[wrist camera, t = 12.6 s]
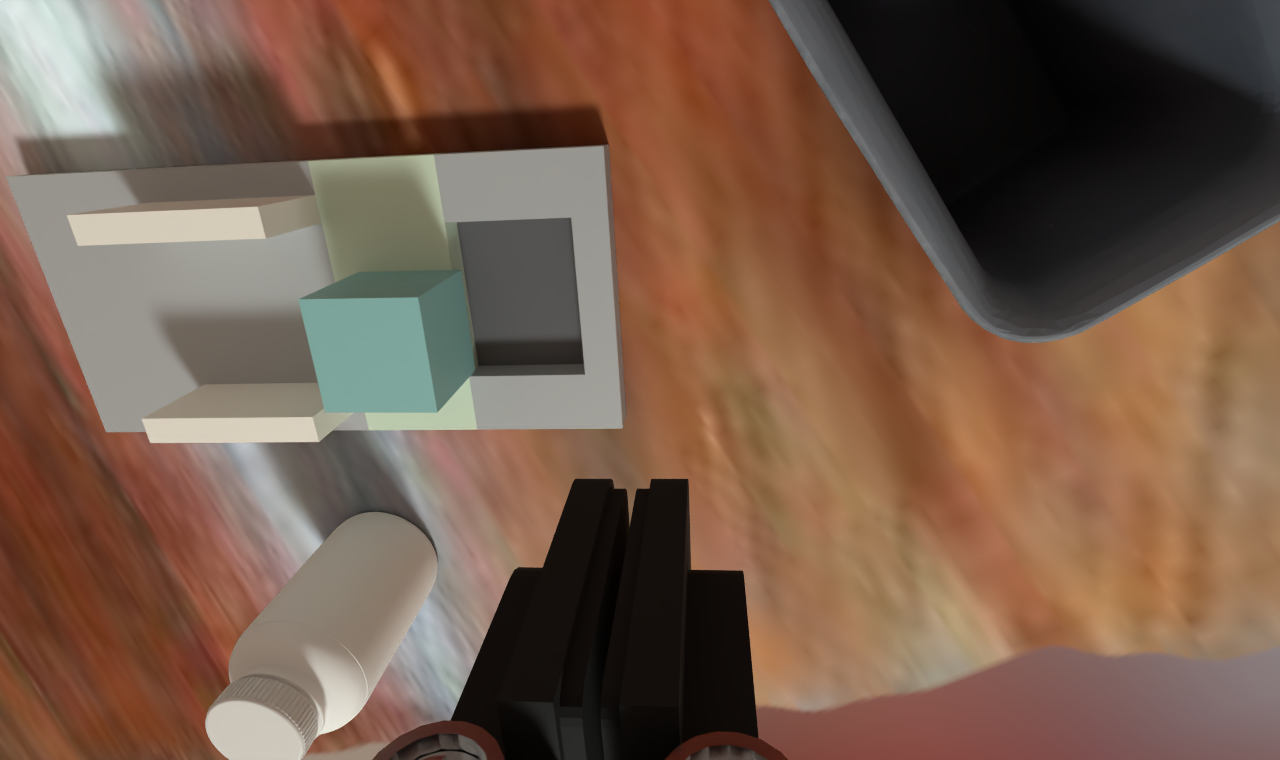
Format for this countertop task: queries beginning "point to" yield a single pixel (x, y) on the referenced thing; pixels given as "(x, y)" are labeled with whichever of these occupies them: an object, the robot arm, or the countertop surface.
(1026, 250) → the storage bin
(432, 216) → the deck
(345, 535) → the pill bottle
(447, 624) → the countertop surface
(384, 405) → the teal block
